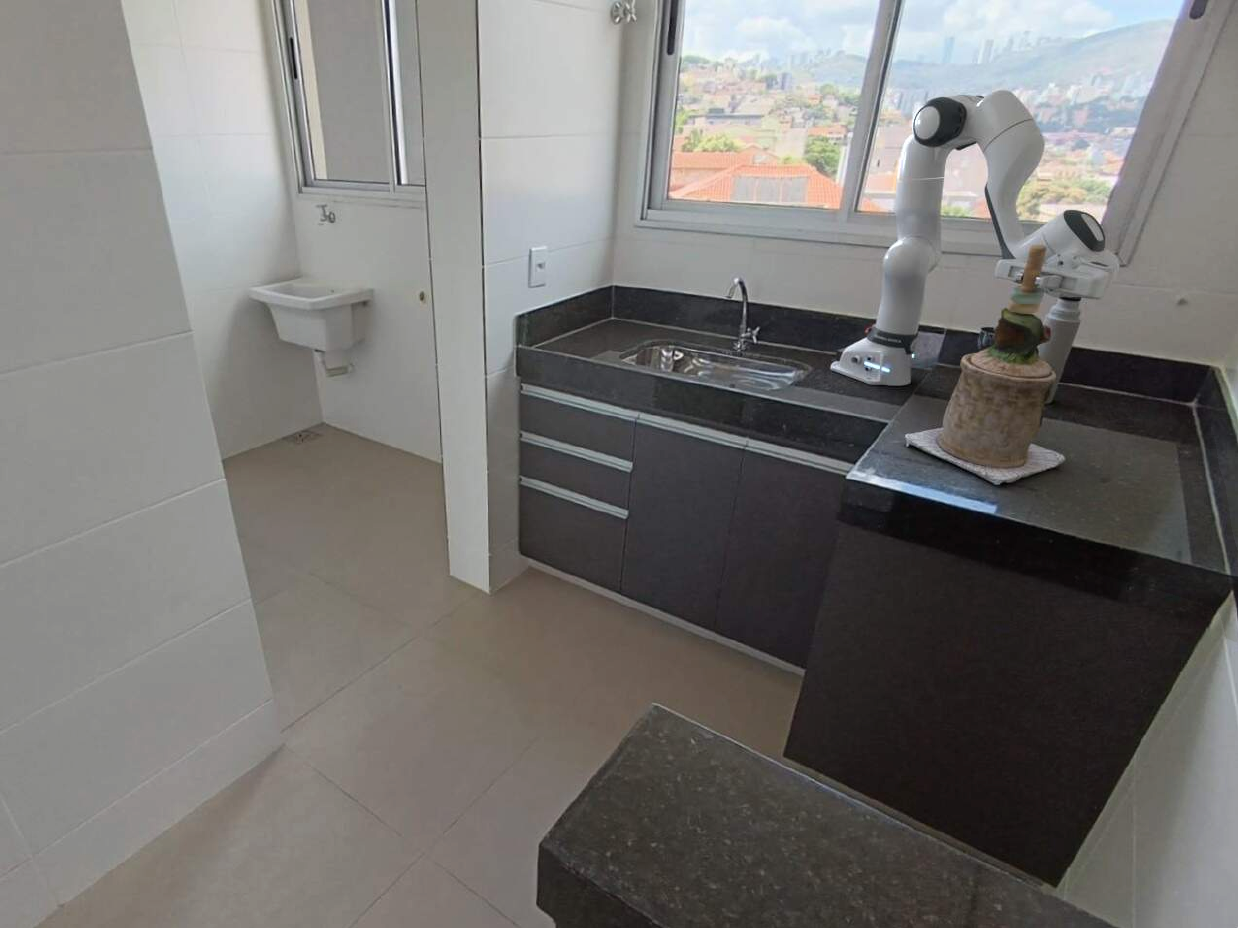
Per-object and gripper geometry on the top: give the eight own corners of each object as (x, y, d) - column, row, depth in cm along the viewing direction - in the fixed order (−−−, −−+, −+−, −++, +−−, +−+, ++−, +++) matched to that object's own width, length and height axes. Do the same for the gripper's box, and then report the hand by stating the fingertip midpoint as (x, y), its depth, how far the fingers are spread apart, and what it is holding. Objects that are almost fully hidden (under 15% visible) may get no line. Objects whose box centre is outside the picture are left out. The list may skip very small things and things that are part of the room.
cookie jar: (1003, 489, 134) (1052, 331, 120) (898, 444, 153) (931, 303, 139) (1067, 463, 146) (1120, 316, 132) (963, 424, 165) (1000, 292, 151)
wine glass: (959, 378, 197) (974, 328, 190) (979, 376, 200) (994, 326, 193) (982, 387, 191) (998, 335, 184) (1002, 385, 194) (1018, 334, 187)
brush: (1004, 311, 137) (1017, 248, 130) (1013, 303, 140) (1027, 241, 134) (1034, 316, 133) (1050, 252, 127) (1043, 307, 137) (1059, 244, 130)
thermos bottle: (1045, 394, 188) (1081, 293, 175) (1056, 405, 181) (1094, 300, 168) (1015, 391, 189) (1048, 291, 176) (1024, 401, 182) (1059, 297, 169)
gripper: (1020, 250, 146) (984, 253, 139) (1123, 268, 131) (1087, 273, 124) (1011, 280, 149) (975, 284, 142) (1111, 301, 134) (1075, 307, 127)
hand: (1028, 279), depth 133 cm, fingers closed on brush, 3 cm apart
